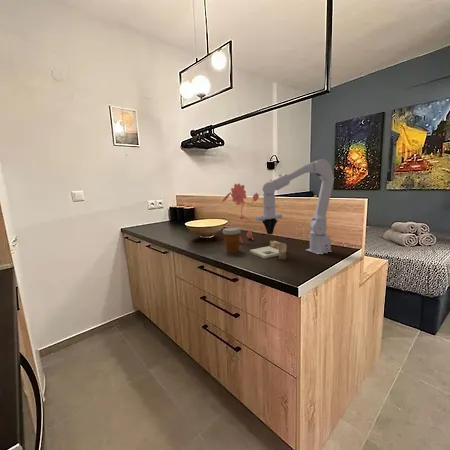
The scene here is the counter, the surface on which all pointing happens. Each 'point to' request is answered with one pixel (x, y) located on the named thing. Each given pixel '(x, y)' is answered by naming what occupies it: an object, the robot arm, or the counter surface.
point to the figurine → (238, 196)
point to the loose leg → (282, 250)
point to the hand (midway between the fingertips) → (269, 233)
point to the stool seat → (265, 252)
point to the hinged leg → (276, 244)
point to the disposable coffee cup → (232, 239)
